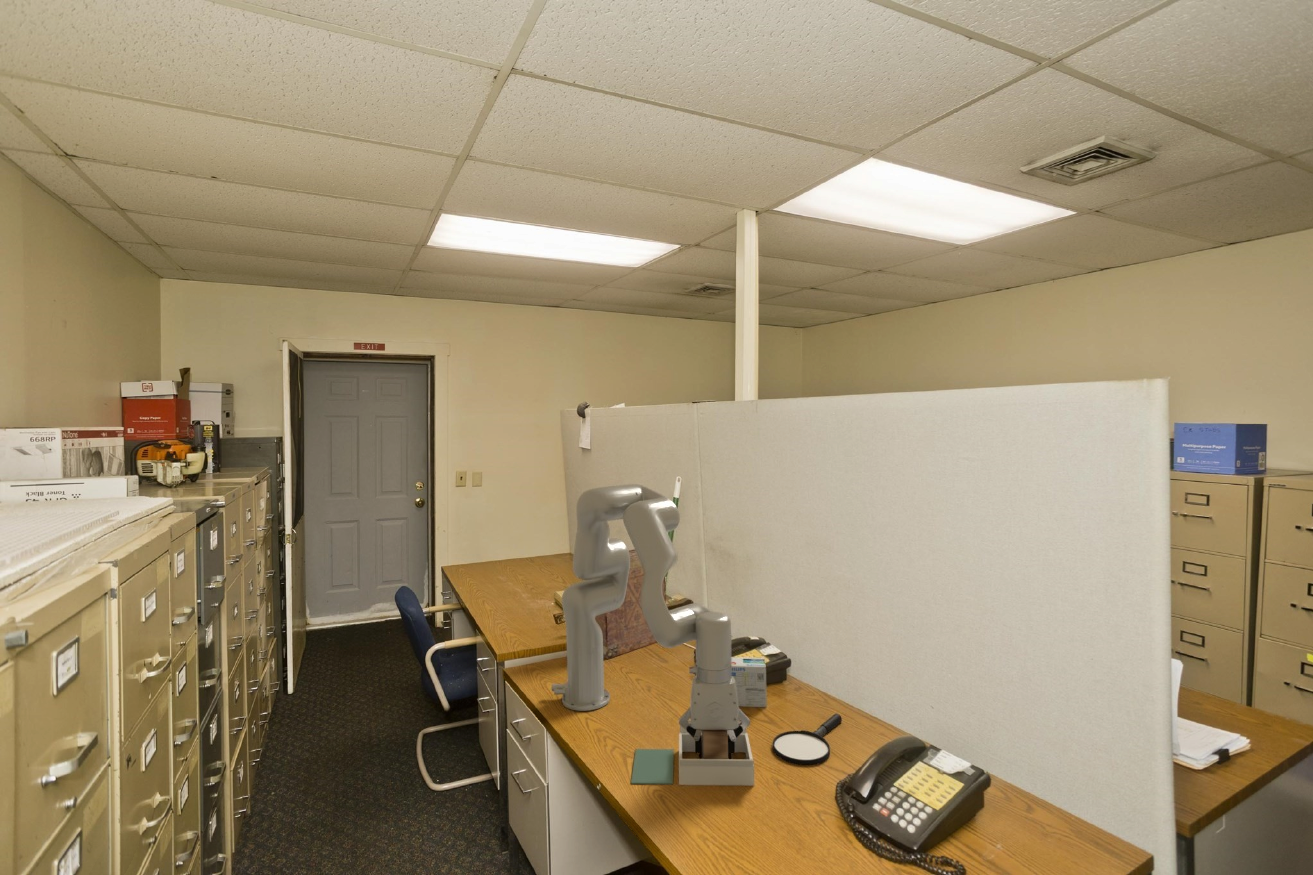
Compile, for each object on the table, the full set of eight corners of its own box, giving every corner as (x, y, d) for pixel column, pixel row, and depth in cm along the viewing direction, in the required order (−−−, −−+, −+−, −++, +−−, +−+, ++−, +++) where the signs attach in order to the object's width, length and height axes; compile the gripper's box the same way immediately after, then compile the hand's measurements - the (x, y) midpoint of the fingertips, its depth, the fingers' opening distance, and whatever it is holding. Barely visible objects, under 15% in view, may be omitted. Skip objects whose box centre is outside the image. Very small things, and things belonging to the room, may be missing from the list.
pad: (631, 783, 129) (631, 782, 129) (635, 750, 142) (635, 748, 142) (672, 784, 128) (672, 782, 128) (673, 750, 141) (673, 749, 141)
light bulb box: (765, 696, 168) (765, 656, 168) (767, 708, 161) (767, 666, 161) (725, 695, 169) (724, 655, 169) (725, 706, 162) (724, 665, 162)
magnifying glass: (862, 730, 150) (862, 721, 150) (812, 775, 132) (812, 765, 132) (814, 714, 158) (814, 705, 158) (761, 754, 141) (761, 745, 140)
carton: (679, 789, 127) (678, 759, 127) (679, 746, 143) (679, 720, 143) (755, 789, 126) (754, 759, 126) (746, 747, 142) (746, 720, 142)
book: (648, 632, 219) (647, 546, 217) (666, 639, 212) (665, 550, 211) (589, 652, 201) (587, 558, 200) (607, 660, 195) (605, 563, 193)
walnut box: (703, 779, 130) (703, 735, 130) (702, 755, 139) (701, 715, 139) (728, 779, 130) (728, 736, 130) (725, 755, 139) (725, 715, 139)
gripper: (673, 679, 130) (674, 765, 131) (756, 680, 130) (757, 766, 130) (673, 665, 138) (674, 746, 139) (752, 665, 137) (753, 747, 138)
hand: (714, 755), depth 135 cm, fingers open, 5 cm apart
